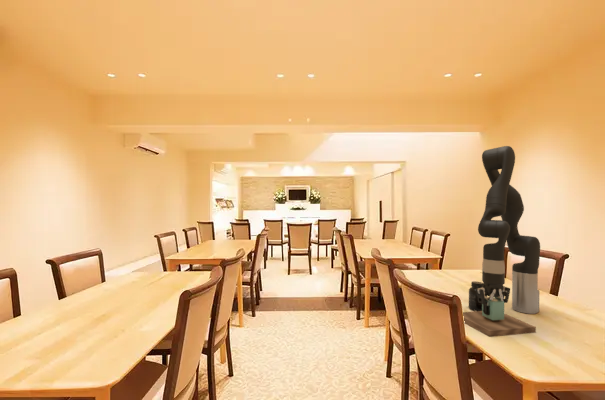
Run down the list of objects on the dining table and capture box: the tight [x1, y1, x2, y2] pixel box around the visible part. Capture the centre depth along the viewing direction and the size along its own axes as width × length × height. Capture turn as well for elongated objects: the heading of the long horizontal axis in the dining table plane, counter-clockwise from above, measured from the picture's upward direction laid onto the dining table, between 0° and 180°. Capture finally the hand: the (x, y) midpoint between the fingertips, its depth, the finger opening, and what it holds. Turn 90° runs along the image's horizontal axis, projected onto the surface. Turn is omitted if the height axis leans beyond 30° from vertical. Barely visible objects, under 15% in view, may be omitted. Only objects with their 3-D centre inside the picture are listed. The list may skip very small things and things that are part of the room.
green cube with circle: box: [482, 297, 505, 320], centre depth 120 cm, size 5×5×7 cm
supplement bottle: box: [468, 280, 484, 312], centre depth 137 cm, size 7×7×12 cm
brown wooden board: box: [463, 310, 537, 337], centre depth 120 cm, size 20×18×9 cm
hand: (492, 313), depth 120 cm, fingers closed on green cube with circle, 5 cm apart
